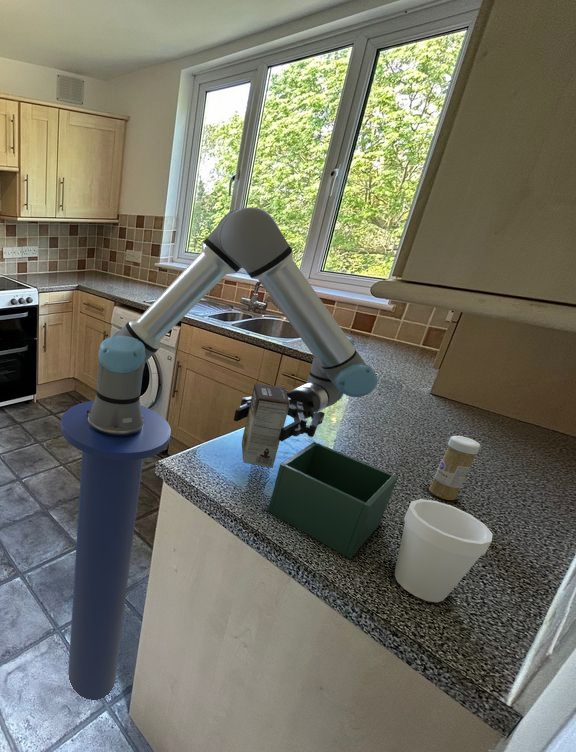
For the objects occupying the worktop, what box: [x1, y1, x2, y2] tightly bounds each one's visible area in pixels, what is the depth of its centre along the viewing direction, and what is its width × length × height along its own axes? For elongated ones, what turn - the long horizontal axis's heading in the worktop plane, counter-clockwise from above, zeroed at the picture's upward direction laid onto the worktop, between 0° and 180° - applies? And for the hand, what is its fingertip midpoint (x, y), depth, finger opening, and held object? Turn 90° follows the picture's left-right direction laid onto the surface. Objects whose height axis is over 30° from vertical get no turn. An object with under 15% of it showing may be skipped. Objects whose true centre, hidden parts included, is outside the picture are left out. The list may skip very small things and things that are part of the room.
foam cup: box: [394, 498, 493, 603], centre depth 63 cm, size 10×9×13 cm
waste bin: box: [267, 441, 399, 559], centre depth 77 cm, size 15×15×11 cm
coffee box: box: [241, 383, 290, 469], centre depth 91 cm, size 9×6×16 cm
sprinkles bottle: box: [428, 435, 481, 501], centre depth 85 cm, size 5×5×14 cm
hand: (257, 425), depth 89 cm, fingers closed on coffee box, 10 cm apart
